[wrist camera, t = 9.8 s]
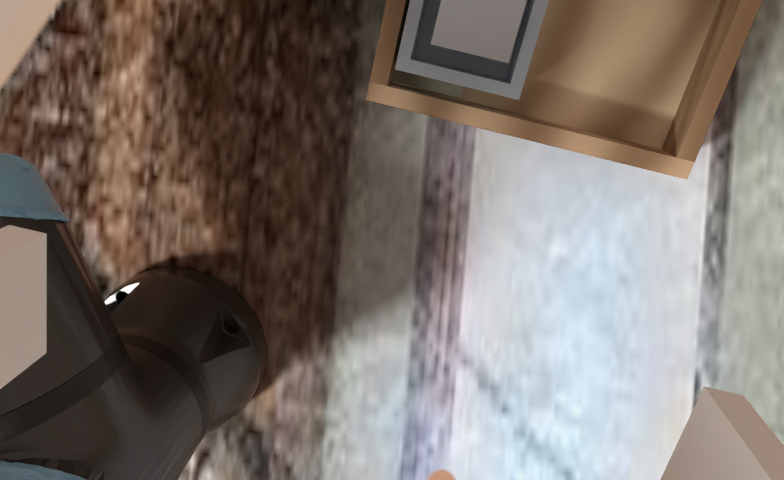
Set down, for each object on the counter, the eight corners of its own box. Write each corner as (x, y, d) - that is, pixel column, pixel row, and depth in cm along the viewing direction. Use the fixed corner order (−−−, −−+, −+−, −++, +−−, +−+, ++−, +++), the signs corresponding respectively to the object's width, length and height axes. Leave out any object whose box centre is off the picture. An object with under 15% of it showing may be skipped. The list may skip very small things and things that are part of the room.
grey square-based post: (401, 65, 41) (370, 83, 26) (429, -60, 38) (411, -116, 24) (512, 93, 41) (542, 126, 26) (549, -31, 38) (605, -70, 23)
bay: (374, 93, 43) (365, 99, 39) (416, -102, 39) (411, -118, 35) (664, 165, 43) (687, 179, 39) (740, -24, 38) (775, -32, 34)
